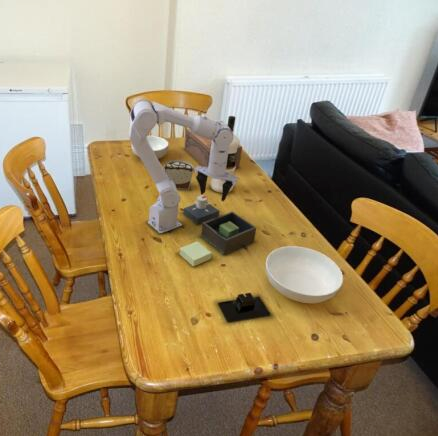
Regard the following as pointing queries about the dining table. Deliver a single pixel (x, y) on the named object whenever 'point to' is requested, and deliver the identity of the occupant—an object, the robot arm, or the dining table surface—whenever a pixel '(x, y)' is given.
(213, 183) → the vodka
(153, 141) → the cereal bowl
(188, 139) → the tissue box cover
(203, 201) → the dial knob
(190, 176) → the food container
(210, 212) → the rotary dial base
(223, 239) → the black storage bin
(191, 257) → the mint block
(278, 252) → the serving bowl
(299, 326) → the dining table surface
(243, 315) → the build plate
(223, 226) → the cube
